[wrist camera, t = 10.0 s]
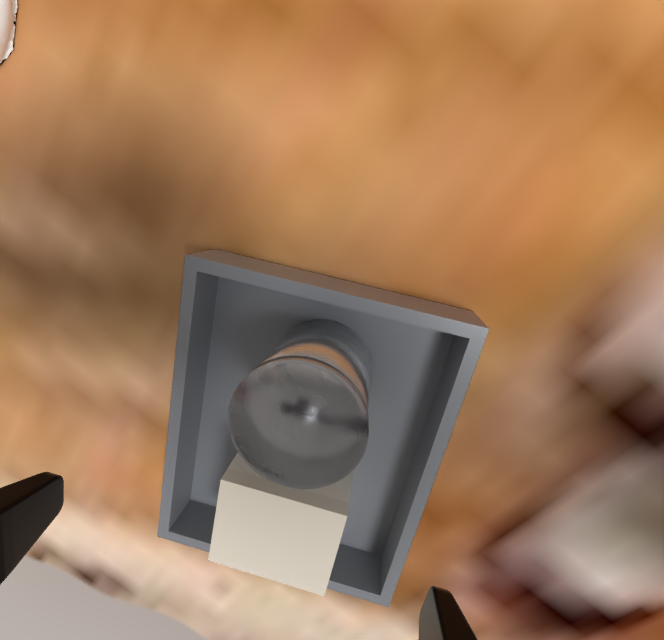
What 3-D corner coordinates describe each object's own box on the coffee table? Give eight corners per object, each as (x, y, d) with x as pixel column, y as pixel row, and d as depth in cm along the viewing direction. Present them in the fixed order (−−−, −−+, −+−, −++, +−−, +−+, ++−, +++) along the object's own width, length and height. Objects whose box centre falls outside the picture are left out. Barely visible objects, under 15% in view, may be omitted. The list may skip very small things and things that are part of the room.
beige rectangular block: (354, 459, 20) (347, 516, 16) (335, 529, 22) (324, 596, 18) (251, 431, 21) (220, 479, 17) (238, 501, 22) (208, 560, 18)
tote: (472, 311, 18) (489, 328, 15) (388, 557, 22) (388, 607, 20) (215, 249, 19) (185, 254, 16) (185, 497, 23) (157, 536, 20)
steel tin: (360, 421, 20) (350, 505, 14) (267, 396, 20) (219, 468, 14) (384, 330, 18) (384, 381, 12) (283, 306, 18) (237, 344, 13)
